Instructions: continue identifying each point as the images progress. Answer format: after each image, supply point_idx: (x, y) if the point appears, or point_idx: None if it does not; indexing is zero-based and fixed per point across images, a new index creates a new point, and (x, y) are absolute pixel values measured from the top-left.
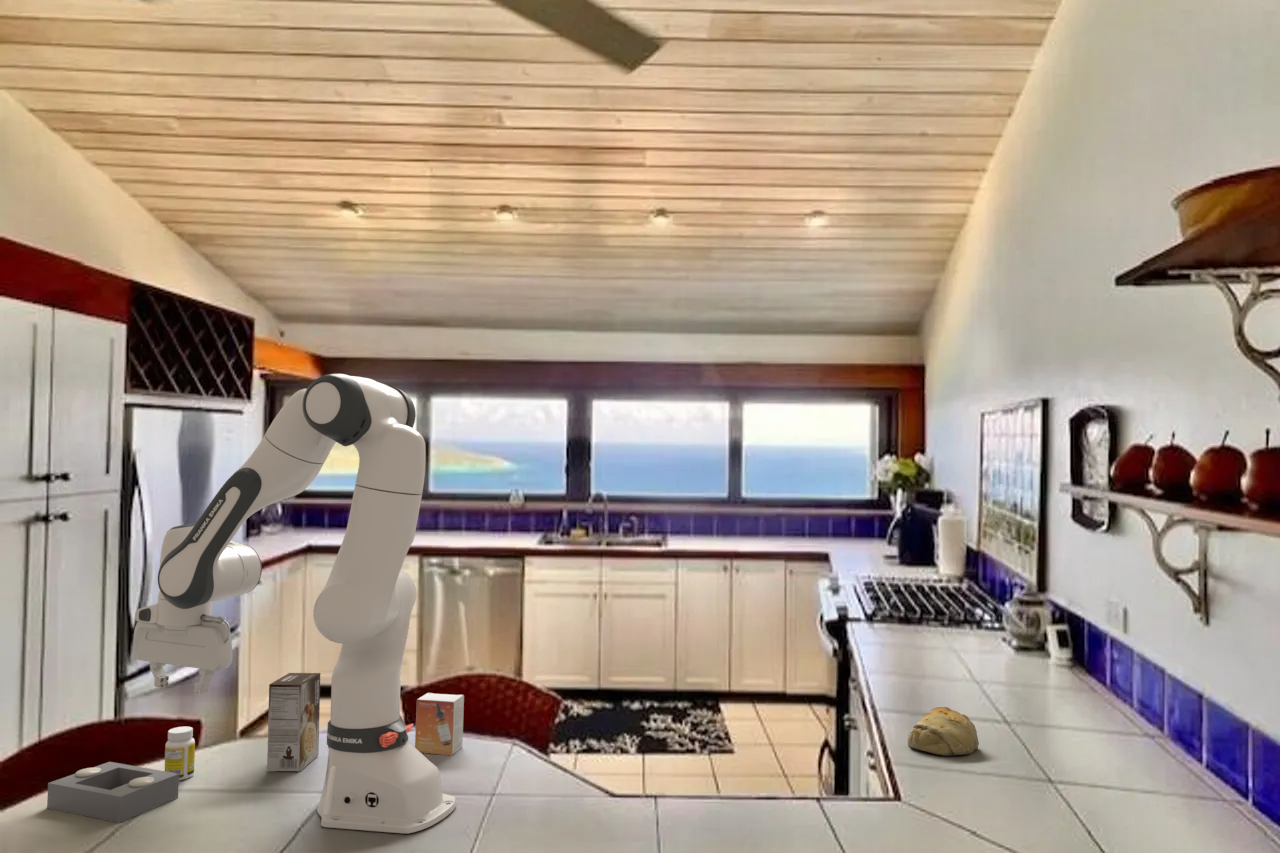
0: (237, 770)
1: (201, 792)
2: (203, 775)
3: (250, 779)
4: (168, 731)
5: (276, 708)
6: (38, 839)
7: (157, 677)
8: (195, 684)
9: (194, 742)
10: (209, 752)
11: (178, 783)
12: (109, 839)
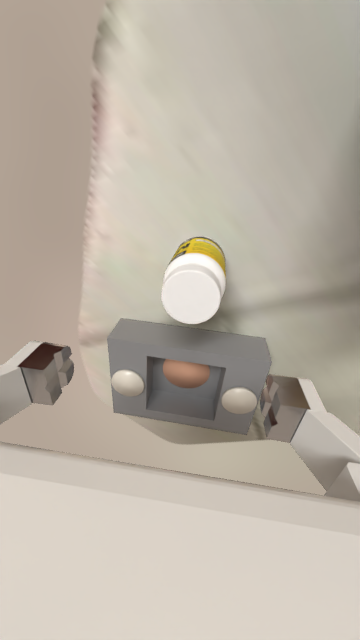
0: (297, 193)
1: (289, 312)
2: (240, 242)
3: (356, 235)
4: (170, 315)
5: None
6: (192, 440)
7: (30, 400)
8: (274, 435)
9: (223, 272)
10: (143, 87)
11: (268, 351)
12: (264, 435)
